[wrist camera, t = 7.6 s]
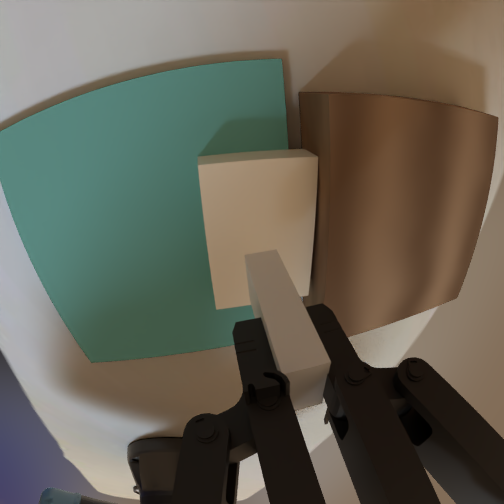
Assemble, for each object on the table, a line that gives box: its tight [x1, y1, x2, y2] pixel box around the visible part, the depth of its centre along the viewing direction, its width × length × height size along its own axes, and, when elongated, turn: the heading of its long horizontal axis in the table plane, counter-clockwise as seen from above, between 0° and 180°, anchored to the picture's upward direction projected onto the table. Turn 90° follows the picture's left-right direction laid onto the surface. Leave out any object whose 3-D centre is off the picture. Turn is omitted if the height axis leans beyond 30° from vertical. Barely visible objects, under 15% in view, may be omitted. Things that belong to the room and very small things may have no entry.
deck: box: [299, 92, 498, 337], centre depth 18 cm, size 14×16×4 cm
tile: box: [198, 149, 318, 310], centre depth 17 cm, size 6×9×2 cm, turn 2°
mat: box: [0, 59, 288, 363], centre depth 17 cm, size 18×20×1 cm
